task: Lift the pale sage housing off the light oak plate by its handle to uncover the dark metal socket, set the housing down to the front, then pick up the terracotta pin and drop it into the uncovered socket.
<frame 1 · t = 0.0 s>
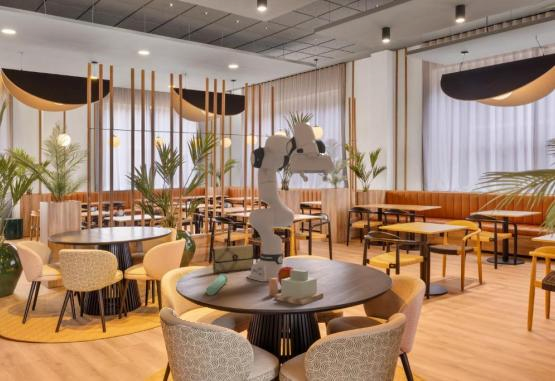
hand: (315, 180, 206), 54 cm above the table, tool tilted 30°, fingers open, 8 cm apart
pin: (273, 295, 223), on the table
apple: (287, 289, 235), on the table
socket plate: (299, 298, 217), on the table
clutch purse: (235, 271, 281), on the table
pale green rod: (216, 290, 236), on the table
housing: (299, 294, 217), point 2 cm above the table, touching socket plate
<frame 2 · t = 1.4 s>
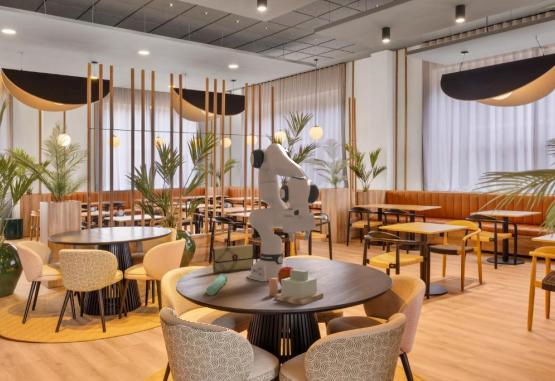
hand: (299, 241, 215), 27 cm above the table, tool pointing down, fingers open, 8 cm apart
nothing on the table moved.
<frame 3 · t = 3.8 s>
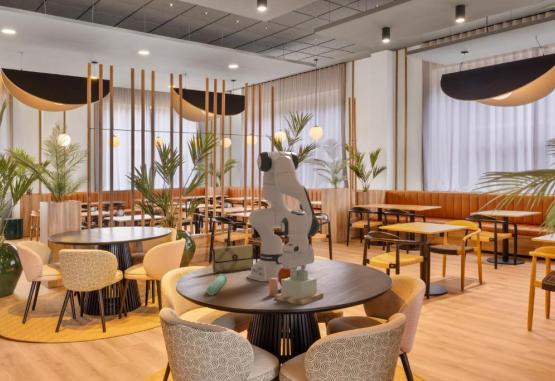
hand: (298, 275, 217), 11 cm above the table, tool pointing down, fingers closed on housing, 3 cm apart
housing: (299, 294, 217), point 2 cm above the table, touching gripper, socket plate
everything else where it was.
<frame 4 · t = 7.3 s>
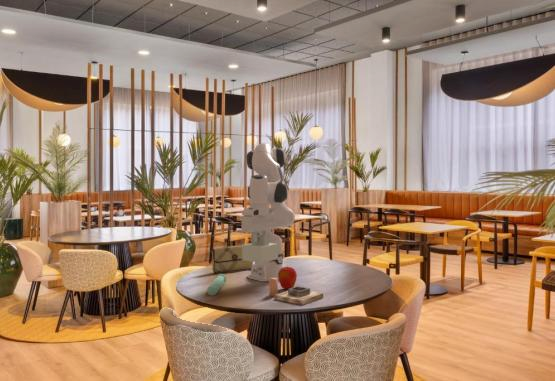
hand: (259, 240, 214), 27 cm above the table, tool pointing down, fingers closed on housing, 3 cm apart
housing: (260, 259, 215), point 19 cm above the table, touching gripper
everything else where it was.
when the fingers open (10 cm above the table, at t = 11.2 s): housing drops 1 cm, on the table.
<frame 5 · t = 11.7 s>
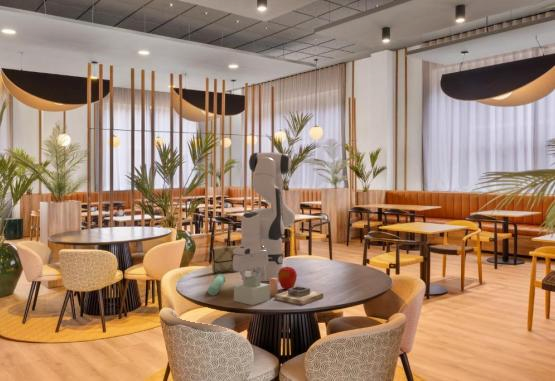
hand: (251, 278, 215), 10 cm above the table, tool pointing down, fingers open, 8 cm apart
housing: (252, 300, 215), on the table
everything else where it was.
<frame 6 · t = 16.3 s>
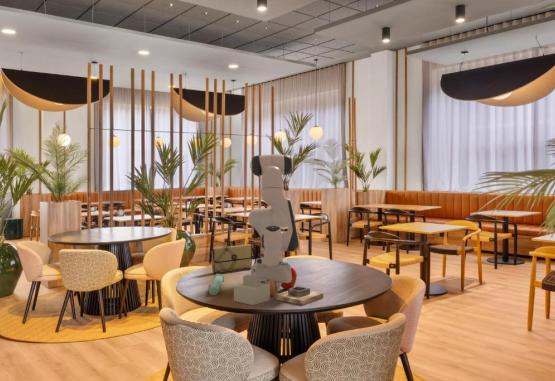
hand: (273, 289, 223), 3 cm above the table, tool pointing down, fingers closed on pin, 4 cm apart
pin: (273, 295, 223), on the table, touching gripper
everything else where it was.
when the fingers open (6 cm above the table, at t = 23.4 s): pin stays where it is, resting on socket plate.
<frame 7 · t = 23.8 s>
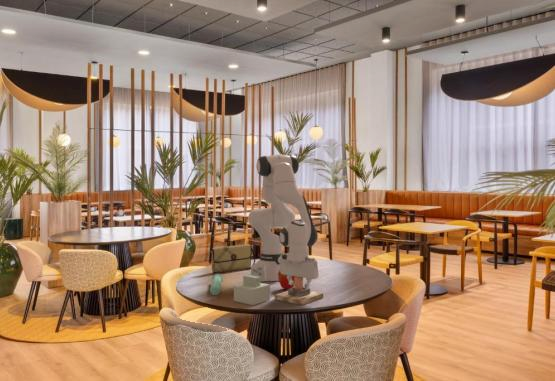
hand: (299, 286, 217), 6 cm above the table, tool pointing down, fingers open, 8 cm apart
pin: (298, 294, 217), point 2 cm above the table, touching socket plate
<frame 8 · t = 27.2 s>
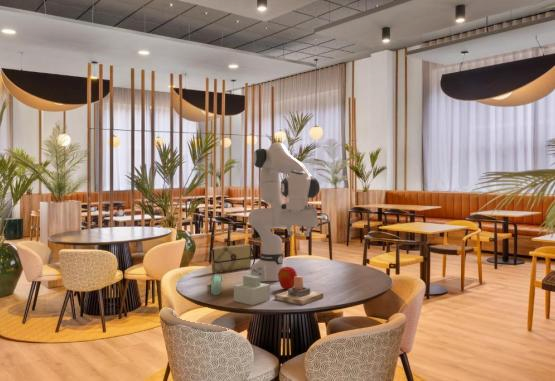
hand: (298, 235, 216), 29 cm above the table, tool pointing down, fingers open, 8 cm apart
at the end: pin 0.1 cm off-centre on the socket plate, point 2.0 cm above the socket plate's base; pin tilted 1°; housing moved 21.9 cm from its start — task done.
